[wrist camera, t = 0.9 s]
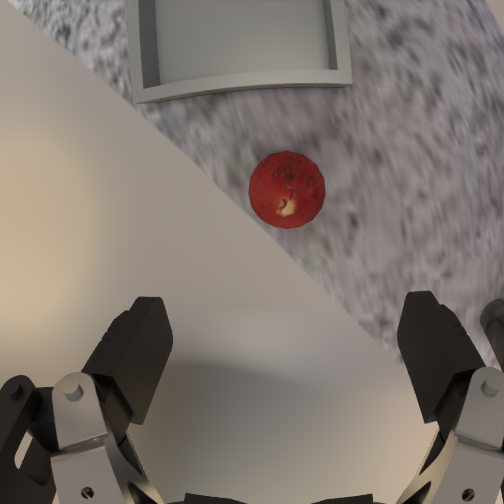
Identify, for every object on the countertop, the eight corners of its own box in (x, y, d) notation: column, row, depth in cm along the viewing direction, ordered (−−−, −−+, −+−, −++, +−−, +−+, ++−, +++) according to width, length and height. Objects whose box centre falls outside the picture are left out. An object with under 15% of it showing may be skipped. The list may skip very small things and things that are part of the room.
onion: (259, 140, 25) (248, 154, 17) (326, 153, 24) (342, 173, 17) (249, 203, 27) (235, 241, 20) (311, 215, 27) (320, 257, 20)
